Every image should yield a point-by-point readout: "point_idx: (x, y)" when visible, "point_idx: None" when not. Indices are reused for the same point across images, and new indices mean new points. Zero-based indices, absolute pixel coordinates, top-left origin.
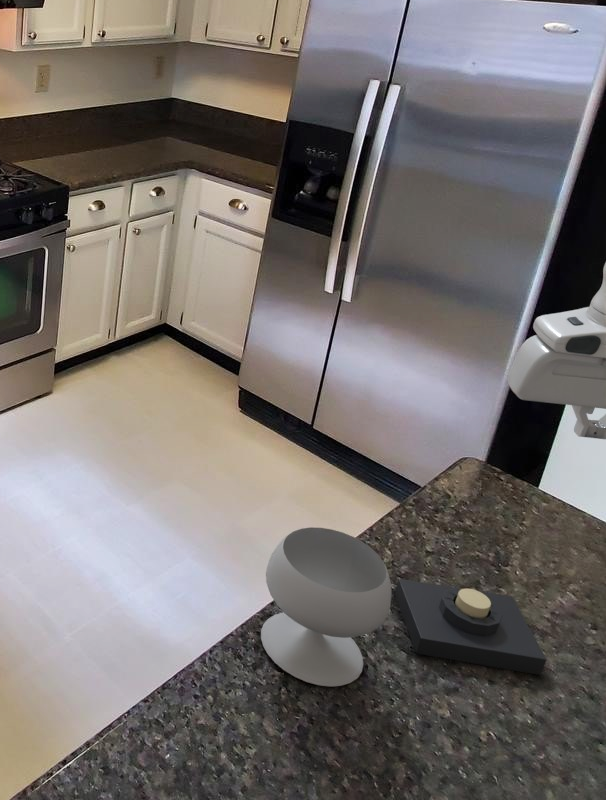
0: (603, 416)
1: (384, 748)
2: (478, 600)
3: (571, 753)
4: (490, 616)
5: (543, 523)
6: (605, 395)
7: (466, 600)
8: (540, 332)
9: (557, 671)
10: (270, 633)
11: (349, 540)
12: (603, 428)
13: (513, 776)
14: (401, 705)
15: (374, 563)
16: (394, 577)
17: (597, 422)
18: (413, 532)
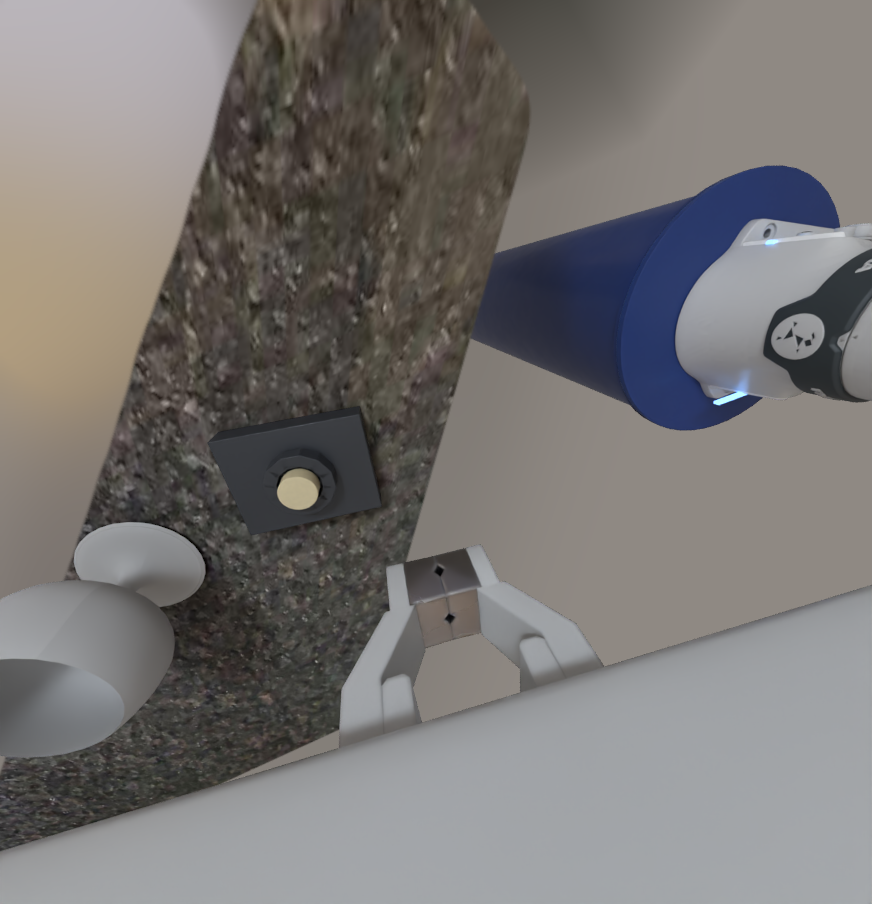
0: (497, 608)
1: (243, 627)
2: (302, 496)
3: (389, 565)
4: (321, 495)
5: (455, 112)
6: None
7: (287, 503)
8: None
9: (398, 480)
10: (87, 578)
11: (40, 641)
12: (473, 633)
13: (342, 604)
14: (251, 584)
15: (111, 633)
16: (212, 396)
17: (465, 606)
18: (223, 250)
